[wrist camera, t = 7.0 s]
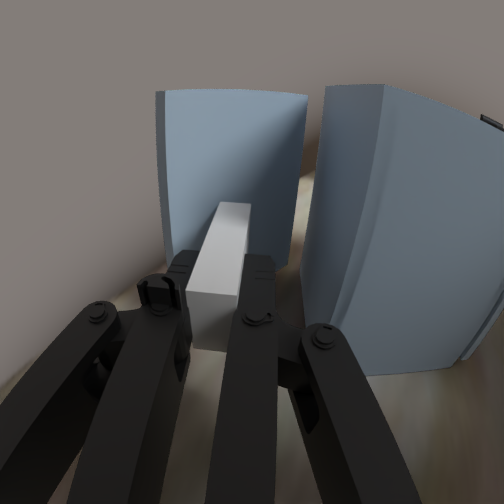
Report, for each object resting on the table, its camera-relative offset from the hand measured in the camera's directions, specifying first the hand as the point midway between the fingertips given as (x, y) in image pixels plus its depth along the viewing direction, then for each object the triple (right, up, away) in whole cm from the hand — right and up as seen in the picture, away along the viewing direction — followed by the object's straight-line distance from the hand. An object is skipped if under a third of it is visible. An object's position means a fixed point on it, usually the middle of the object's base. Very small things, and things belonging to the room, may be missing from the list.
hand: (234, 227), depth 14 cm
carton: (+9, -6, +4) cm, 12 cm away
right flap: (0, -4, +5) cm, 6 cm away
